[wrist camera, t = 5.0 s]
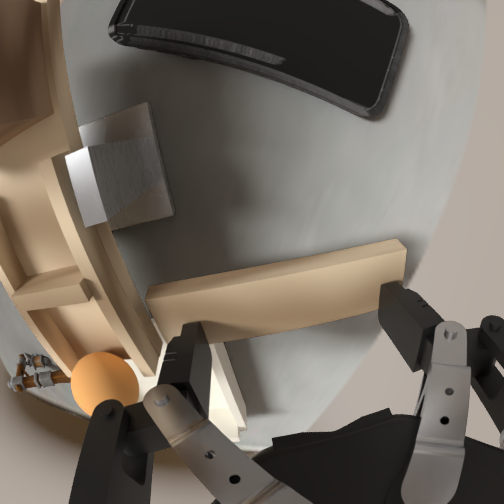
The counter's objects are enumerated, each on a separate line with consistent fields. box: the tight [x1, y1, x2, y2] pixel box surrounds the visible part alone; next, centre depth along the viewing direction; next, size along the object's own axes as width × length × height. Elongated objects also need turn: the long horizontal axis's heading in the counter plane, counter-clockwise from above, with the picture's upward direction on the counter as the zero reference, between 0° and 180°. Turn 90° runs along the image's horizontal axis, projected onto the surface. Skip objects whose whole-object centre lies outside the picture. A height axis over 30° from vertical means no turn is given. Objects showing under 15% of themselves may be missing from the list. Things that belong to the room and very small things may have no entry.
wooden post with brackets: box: [8, 354, 71, 392], centre depth 18 cm, size 2×8×4 cm, turn 89°
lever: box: [0, 0, 407, 377], centre depth 8 cm, size 17×17×4 cm
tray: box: [124, 318, 247, 442], centre depth 18 cm, size 11×10×4 cm
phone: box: [108, 0, 409, 117], centre depth 10 cm, size 8×1×15 cm
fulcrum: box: [65, 102, 176, 231], centre depth 11 cm, size 6×9×7 cm, turn 100°
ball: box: [71, 352, 139, 416], centre depth 11 cm, size 4×4×4 cm
